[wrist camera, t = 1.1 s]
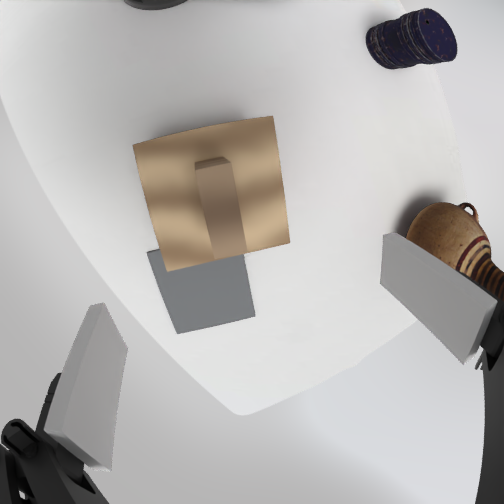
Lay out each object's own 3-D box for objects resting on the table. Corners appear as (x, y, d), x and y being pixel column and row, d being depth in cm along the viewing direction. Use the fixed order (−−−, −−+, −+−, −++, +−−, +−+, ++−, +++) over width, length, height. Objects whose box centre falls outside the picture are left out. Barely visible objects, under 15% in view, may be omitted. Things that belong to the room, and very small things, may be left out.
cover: (152, 141, 38) (114, 148, 19) (247, 121, 40) (295, 111, 21) (173, 230, 45) (162, 305, 26) (262, 210, 47) (312, 269, 27)
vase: (430, 173, 50) (544, 217, 23) (451, 227, 58) (540, 280, 31) (370, 238, 53) (478, 322, 26) (400, 286, 61) (482, 363, 34)
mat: (147, 252, 45) (146, 253, 45) (238, 230, 47) (239, 231, 47) (177, 332, 53) (177, 334, 52) (254, 314, 55) (255, 316, 54)
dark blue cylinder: (408, 46, 38) (461, 37, 24) (396, 79, 41) (452, 74, 27) (373, 17, 34) (423, -3, 21) (358, 49, 37) (411, 31, 24)
